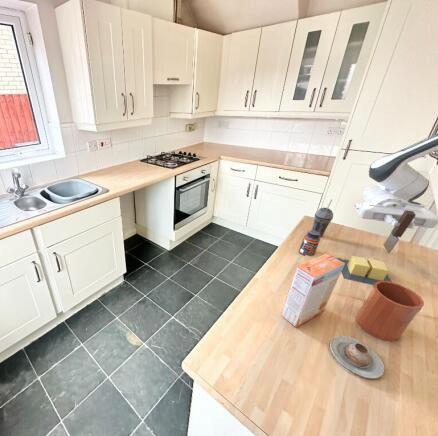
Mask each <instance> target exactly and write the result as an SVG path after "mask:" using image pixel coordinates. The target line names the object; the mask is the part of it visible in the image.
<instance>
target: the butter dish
mask: <svg viewBox="0 0 438 436" xmlns="http://www.w3.org/2000/svg"><path fill="white" fill-rule="evenodd" d="M336 259H338V260H340V261H342V262H344V263H345V265H344V267H343V269H342V272H341V275H342V278H343V279H344V280H349V281H353V282H357V283H362V284H367V285H369V286H370V285H371V286H374V284H375V283H376V282H378V281H380V280H376V279H371V278H368V276H367V274H366V275H365V277H362V276H358V275H353V274H350V271H349V269H348V266H347V264H348V262H349V260H350V259H346V258H345V259H344V258H339V257H336ZM383 281H389V282H393V281H392V280H391V278H390V276H389V274H387V275H386V276H385V278H384V280H383Z"/></svg>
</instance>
